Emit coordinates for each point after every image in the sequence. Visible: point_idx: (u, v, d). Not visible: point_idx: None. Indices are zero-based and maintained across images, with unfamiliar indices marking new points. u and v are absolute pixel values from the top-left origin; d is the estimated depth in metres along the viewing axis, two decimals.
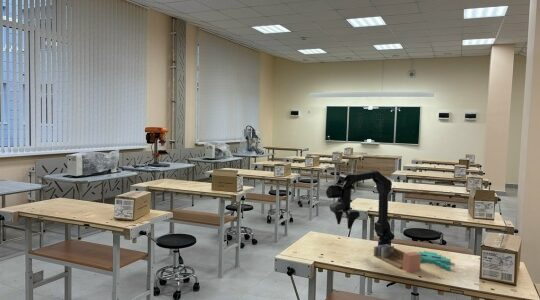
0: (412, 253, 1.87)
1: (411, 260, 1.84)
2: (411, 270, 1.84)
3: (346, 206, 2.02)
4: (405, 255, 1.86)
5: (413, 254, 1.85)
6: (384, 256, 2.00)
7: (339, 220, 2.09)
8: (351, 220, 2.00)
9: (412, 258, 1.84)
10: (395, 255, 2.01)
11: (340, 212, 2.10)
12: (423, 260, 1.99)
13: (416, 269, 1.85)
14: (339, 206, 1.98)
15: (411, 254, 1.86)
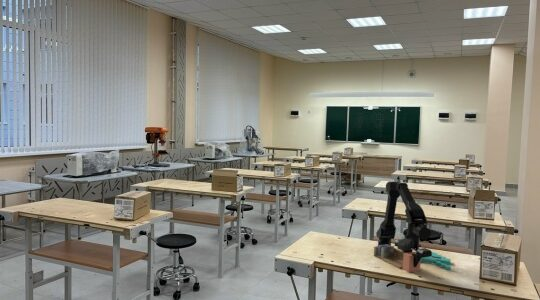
0: (412, 253, 1.87)
1: (411, 260, 1.84)
2: (411, 270, 1.84)
3: (415, 243, 1.83)
4: (405, 255, 1.86)
5: None
6: (384, 256, 2.00)
7: None
8: (418, 258, 1.83)
9: (412, 258, 1.84)
10: (395, 255, 2.01)
11: (409, 250, 1.89)
12: (423, 260, 1.99)
13: (416, 269, 1.85)
14: (409, 244, 1.79)
15: (411, 253, 1.86)
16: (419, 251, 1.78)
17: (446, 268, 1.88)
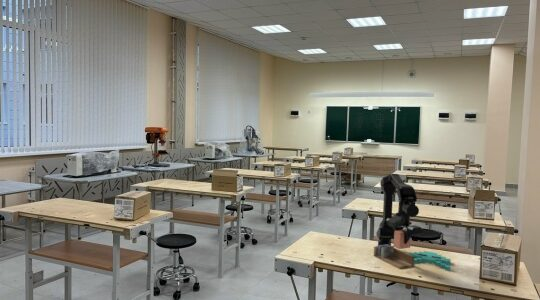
0: (403, 230, 1.92)
1: (402, 237, 1.89)
2: (402, 247, 1.90)
3: (406, 221, 1.88)
4: (396, 232, 1.91)
5: None
6: (384, 256, 2.00)
7: None
8: (408, 235, 1.89)
9: (402, 235, 1.89)
10: (395, 255, 2.01)
11: (400, 228, 1.94)
12: (423, 260, 1.99)
13: (406, 246, 1.91)
14: (400, 221, 1.84)
15: (401, 231, 1.91)
16: (409, 228, 1.84)
17: (446, 268, 1.88)
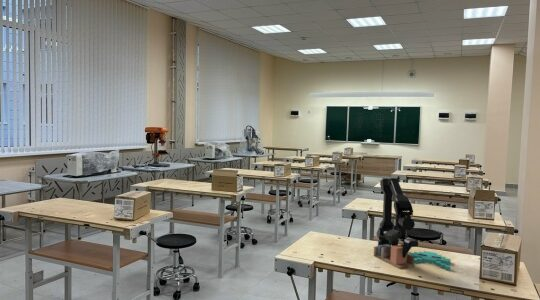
0: (399, 246, 1.94)
1: (398, 252, 1.91)
2: (398, 262, 1.91)
3: (403, 234, 1.90)
4: (392, 248, 1.93)
5: (400, 247, 1.92)
6: (384, 256, 2.00)
7: None
8: (406, 248, 1.89)
9: (399, 250, 1.91)
10: None
11: (396, 240, 1.97)
12: (423, 260, 1.99)
13: (403, 261, 1.93)
14: (396, 235, 1.86)
15: (398, 246, 1.93)
16: (406, 241, 1.85)
17: (446, 268, 1.88)
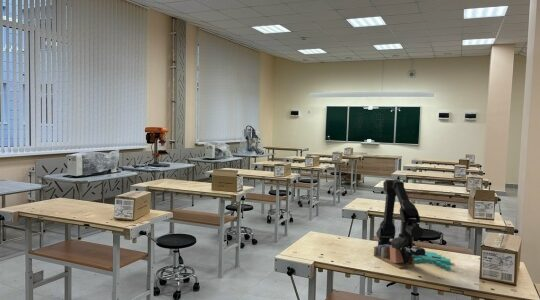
0: None
1: (397, 251, 1.92)
2: (398, 261, 1.91)
3: (409, 242, 1.86)
4: (391, 247, 1.94)
5: None
6: (384, 256, 2.00)
7: None
8: (408, 255, 1.88)
9: None
10: None
11: None
12: (423, 260, 1.99)
13: None
14: (403, 243, 1.82)
15: None
16: (413, 249, 1.81)
17: (446, 268, 1.88)
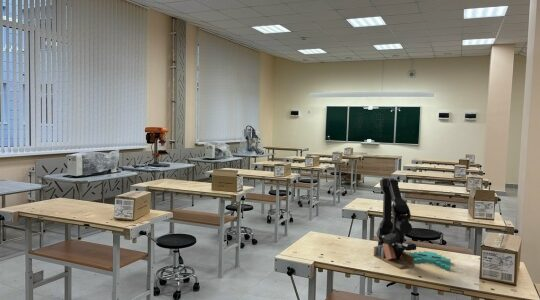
0: None
1: (390, 246, 1.96)
2: (393, 256, 1.94)
3: (401, 238, 1.91)
4: (384, 244, 1.98)
5: None
6: (384, 256, 2.00)
7: None
8: (400, 250, 1.93)
9: None
10: None
11: None
12: (423, 260, 1.99)
13: None
14: (394, 238, 1.87)
15: None
16: (404, 245, 1.86)
17: (446, 268, 1.88)
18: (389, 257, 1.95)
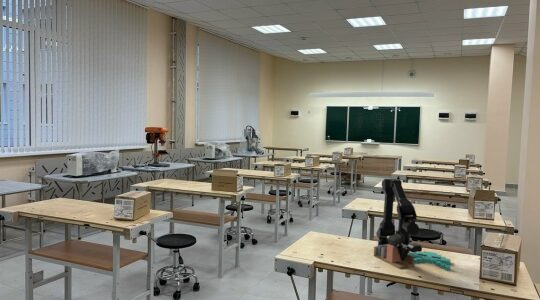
0: None
1: (394, 250, 1.93)
2: (394, 260, 1.94)
3: (406, 239, 1.88)
4: (389, 246, 1.95)
5: None
6: (384, 256, 2.00)
7: None
8: (405, 251, 1.90)
9: (395, 249, 1.93)
10: None
11: None
12: (423, 260, 1.99)
13: (399, 259, 1.95)
14: (400, 240, 1.84)
15: None
16: (409, 246, 1.83)
17: (446, 268, 1.88)
18: (390, 260, 1.94)
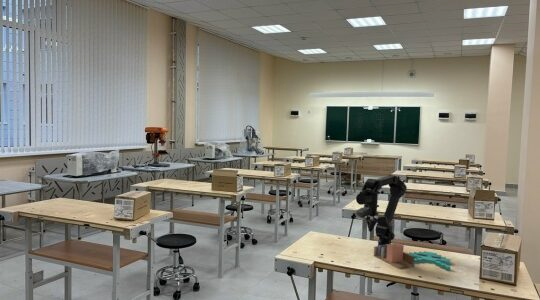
0: (395, 244, 1.96)
1: (394, 250, 1.93)
2: (394, 260, 1.94)
3: (373, 211, 2.04)
4: (389, 246, 1.95)
5: (396, 245, 1.95)
6: (384, 256, 2.00)
7: None
8: (373, 223, 2.06)
9: (395, 249, 1.93)
10: None
11: None
12: (423, 260, 1.99)
13: (399, 259, 1.95)
14: (366, 211, 2.00)
15: (394, 245, 1.95)
16: (375, 217, 2.00)
17: (446, 268, 1.88)
18: (390, 260, 1.94)
